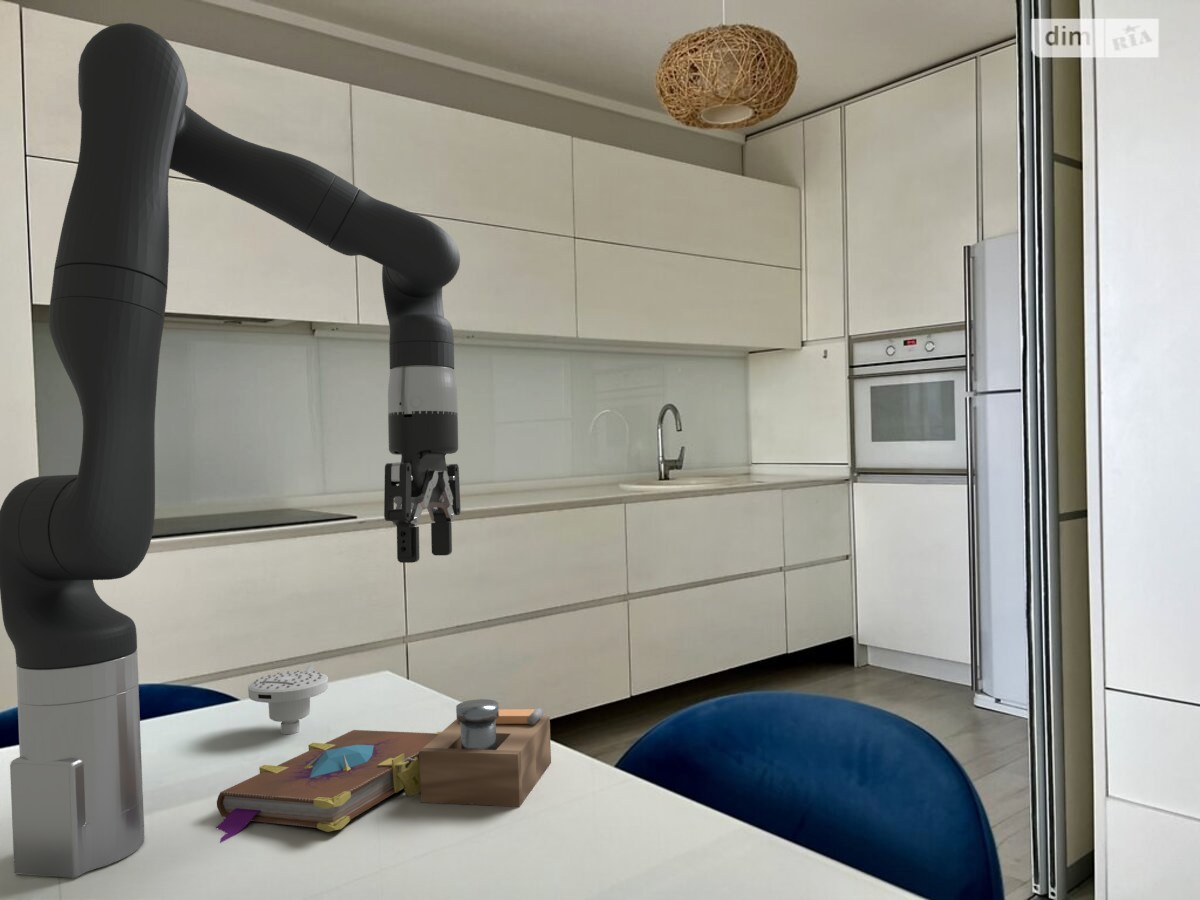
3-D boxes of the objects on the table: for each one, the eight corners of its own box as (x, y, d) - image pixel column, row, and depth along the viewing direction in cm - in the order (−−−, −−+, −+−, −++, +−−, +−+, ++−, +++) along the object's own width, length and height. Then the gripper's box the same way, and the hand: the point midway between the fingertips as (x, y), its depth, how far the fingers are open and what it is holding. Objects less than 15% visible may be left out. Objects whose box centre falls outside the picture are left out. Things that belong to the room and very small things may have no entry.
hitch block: (519, 806, 86) (517, 754, 86) (421, 802, 88) (419, 751, 88) (551, 762, 98) (549, 716, 98) (463, 759, 100) (461, 714, 100)
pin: (494, 799, 88) (490, 711, 88) (453, 798, 89) (449, 711, 89) (506, 783, 92) (503, 699, 92) (467, 782, 93) (464, 698, 93)
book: (177, 849, 83) (172, 794, 83) (352, 759, 105) (349, 716, 105) (317, 866, 76) (312, 807, 76) (472, 766, 99) (468, 720, 99)
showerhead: (345, 664, 116) (297, 684, 106) (347, 720, 116) (299, 746, 106) (282, 661, 119) (230, 681, 109) (284, 716, 119) (233, 741, 109)
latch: (536, 725, 95) (536, 715, 95) (458, 725, 96) (457, 715, 96) (543, 717, 97) (543, 707, 97) (467, 717, 99) (466, 708, 99)
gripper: (419, 416, 107) (422, 553, 107) (359, 407, 93) (362, 565, 93) (479, 413, 105) (481, 553, 105) (426, 404, 91) (429, 564, 91)
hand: (425, 558), depth 99 cm, fingers open, 8 cm apart
